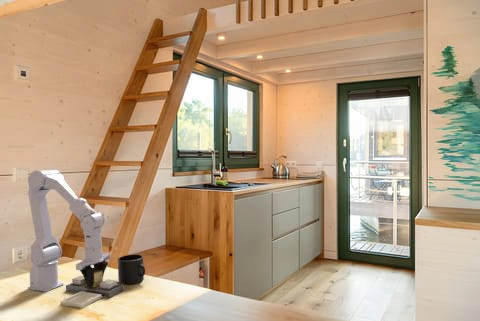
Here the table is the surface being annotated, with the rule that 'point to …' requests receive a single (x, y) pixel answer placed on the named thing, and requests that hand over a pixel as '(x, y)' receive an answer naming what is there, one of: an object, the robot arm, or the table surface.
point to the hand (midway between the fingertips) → (94, 284)
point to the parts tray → (81, 299)
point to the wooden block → (97, 279)
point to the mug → (130, 269)
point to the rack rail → (106, 288)
